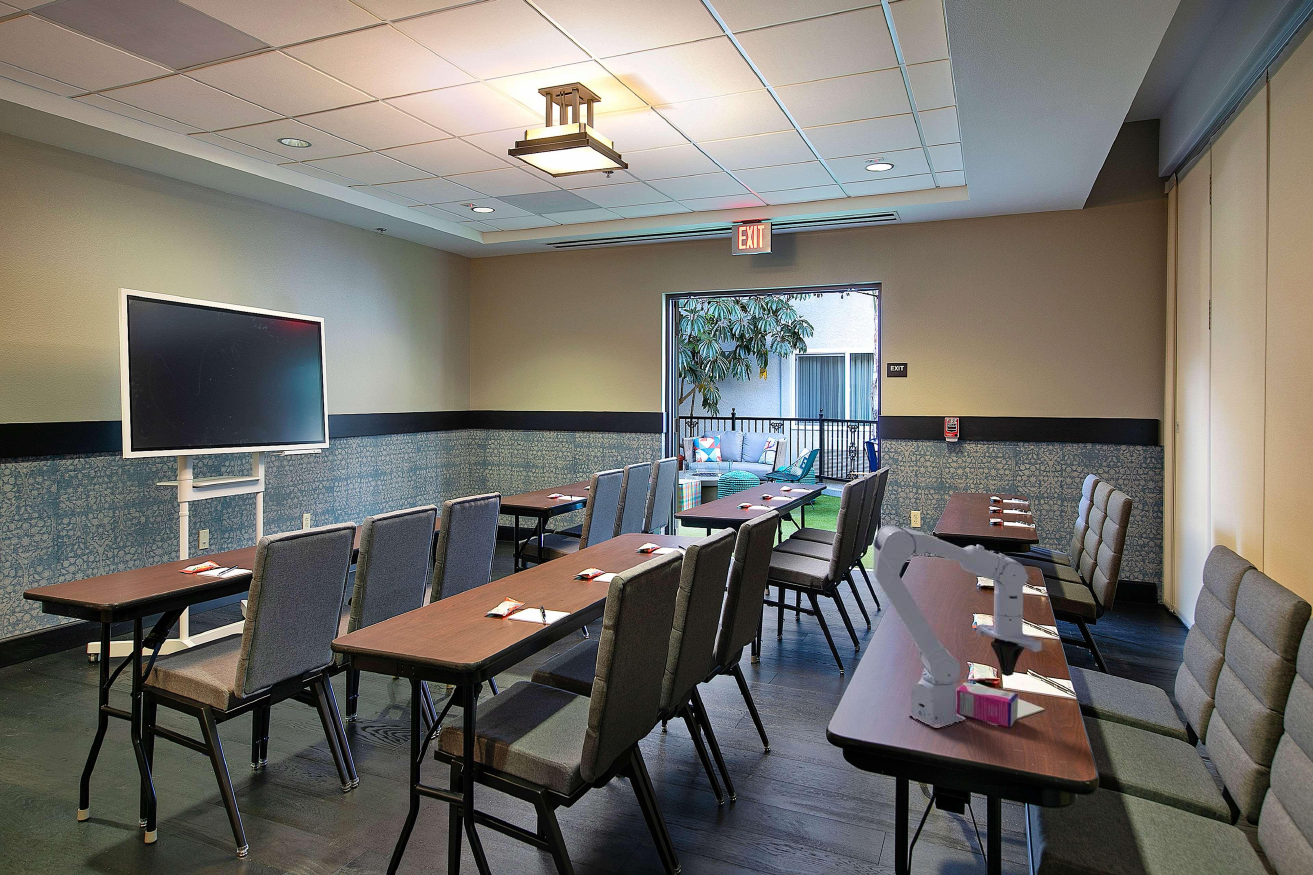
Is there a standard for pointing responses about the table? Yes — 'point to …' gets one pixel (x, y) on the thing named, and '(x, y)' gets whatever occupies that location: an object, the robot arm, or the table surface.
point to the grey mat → (1023, 708)
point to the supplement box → (987, 704)
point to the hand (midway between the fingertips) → (1007, 674)
